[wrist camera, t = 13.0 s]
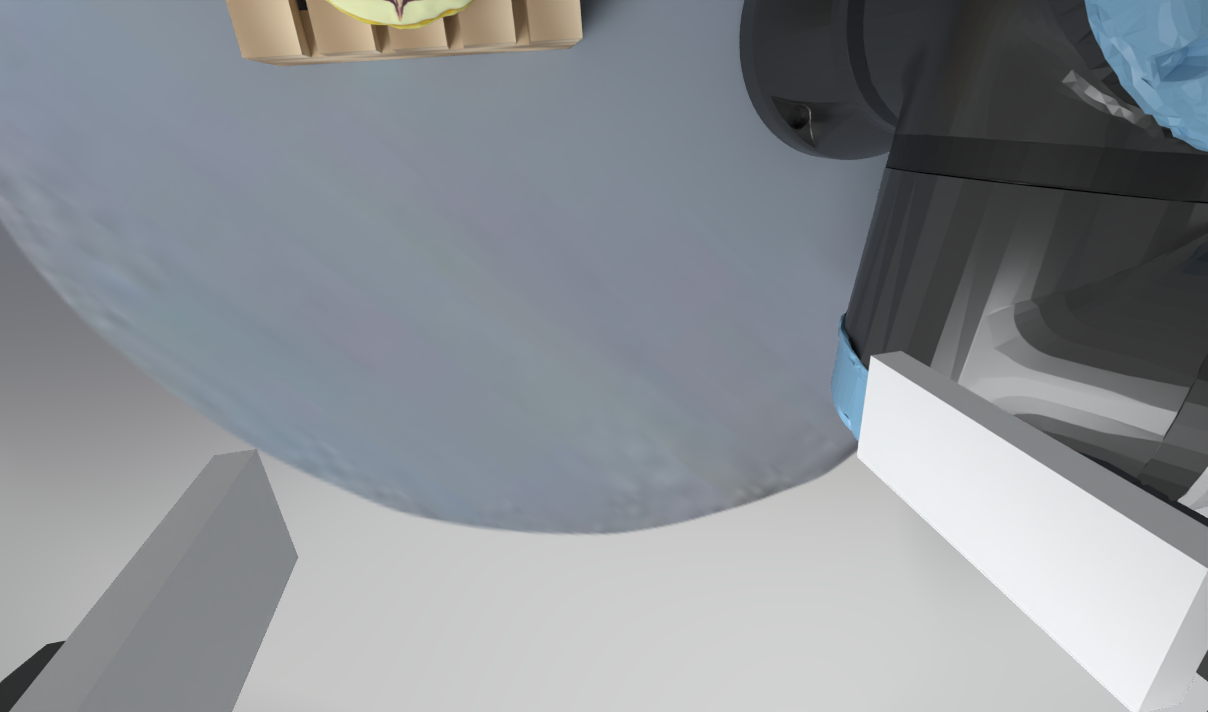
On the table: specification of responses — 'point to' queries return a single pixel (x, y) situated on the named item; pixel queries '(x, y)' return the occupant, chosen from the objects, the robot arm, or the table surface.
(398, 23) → the decorated donut
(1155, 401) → the robot arm
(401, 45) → the pallet
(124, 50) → the table surface
